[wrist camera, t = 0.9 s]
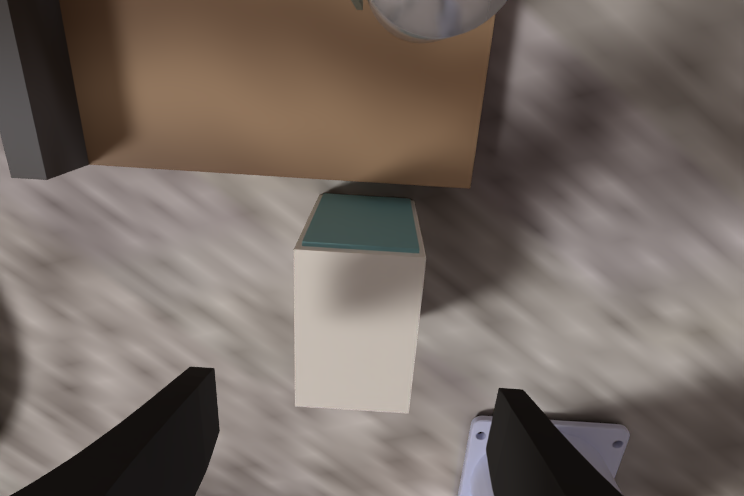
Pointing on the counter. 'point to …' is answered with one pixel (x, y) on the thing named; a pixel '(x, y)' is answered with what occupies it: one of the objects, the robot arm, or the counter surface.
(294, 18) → the tan wooden panel
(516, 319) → the counter surface
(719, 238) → the counter surface
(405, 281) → the carton
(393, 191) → the counter surface
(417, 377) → the counter surface
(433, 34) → the tin
